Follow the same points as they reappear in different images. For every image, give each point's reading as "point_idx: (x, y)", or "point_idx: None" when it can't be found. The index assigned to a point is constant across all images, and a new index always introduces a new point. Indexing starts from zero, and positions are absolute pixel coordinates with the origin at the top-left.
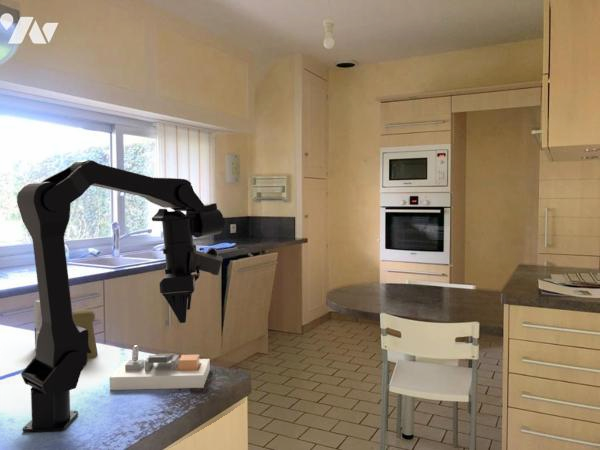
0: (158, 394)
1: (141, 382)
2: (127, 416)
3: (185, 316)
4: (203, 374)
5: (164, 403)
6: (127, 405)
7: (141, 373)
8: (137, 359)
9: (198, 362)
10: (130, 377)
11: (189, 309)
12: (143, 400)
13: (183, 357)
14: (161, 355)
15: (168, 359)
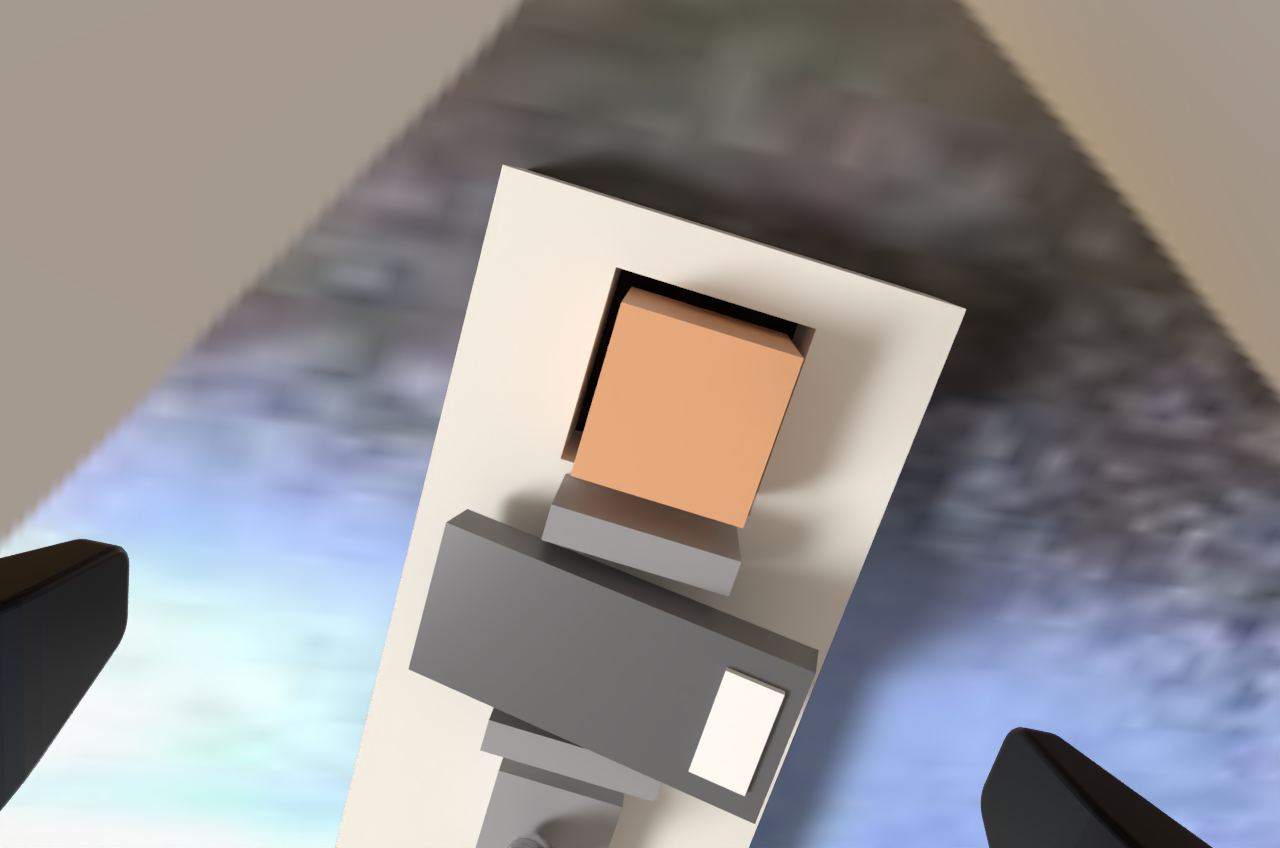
0: (916, 624)
1: None
2: (1200, 821)
3: (1172, 828)
4: (947, 303)
5: (1105, 604)
6: None
7: None
8: (545, 840)
9: (690, 314)
10: (749, 843)
11: (121, 550)
12: (981, 721)
13: (662, 472)
14: (593, 676)
15: (745, 630)
